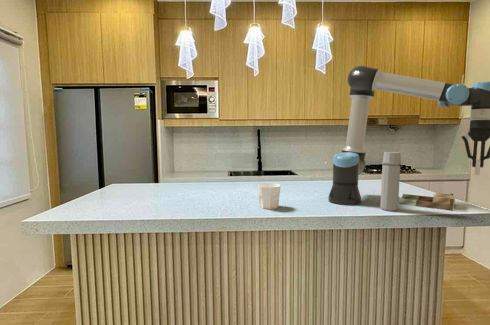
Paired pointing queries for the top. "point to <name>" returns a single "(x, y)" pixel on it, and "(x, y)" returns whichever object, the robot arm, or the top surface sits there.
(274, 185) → the cup
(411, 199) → the bay
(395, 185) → the water bottle
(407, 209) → the top surface
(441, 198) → the crate
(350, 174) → the robot arm
